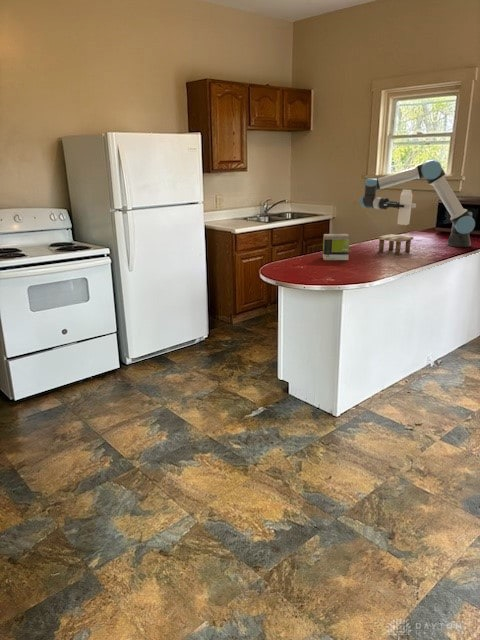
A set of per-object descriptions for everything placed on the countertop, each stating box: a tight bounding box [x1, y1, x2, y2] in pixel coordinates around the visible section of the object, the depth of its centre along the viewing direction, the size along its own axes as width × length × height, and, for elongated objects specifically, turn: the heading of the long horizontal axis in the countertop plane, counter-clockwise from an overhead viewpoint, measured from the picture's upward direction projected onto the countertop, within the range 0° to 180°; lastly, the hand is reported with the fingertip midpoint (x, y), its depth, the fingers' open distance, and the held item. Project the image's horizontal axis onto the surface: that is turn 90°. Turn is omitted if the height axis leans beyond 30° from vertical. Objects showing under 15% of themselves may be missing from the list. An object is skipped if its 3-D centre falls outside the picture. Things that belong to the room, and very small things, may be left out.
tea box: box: [322, 233, 351, 261], centre depth 299 cm, size 15×10×15 cm, turn 84°
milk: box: [396, 189, 414, 226], centre depth 320 cm, size 6×6×22 cm
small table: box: [377, 233, 414, 256], centre depth 319 cm, size 16×16×10 cm
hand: (412, 206), depth 316 cm, fingers closed on milk, 7 cm apart
